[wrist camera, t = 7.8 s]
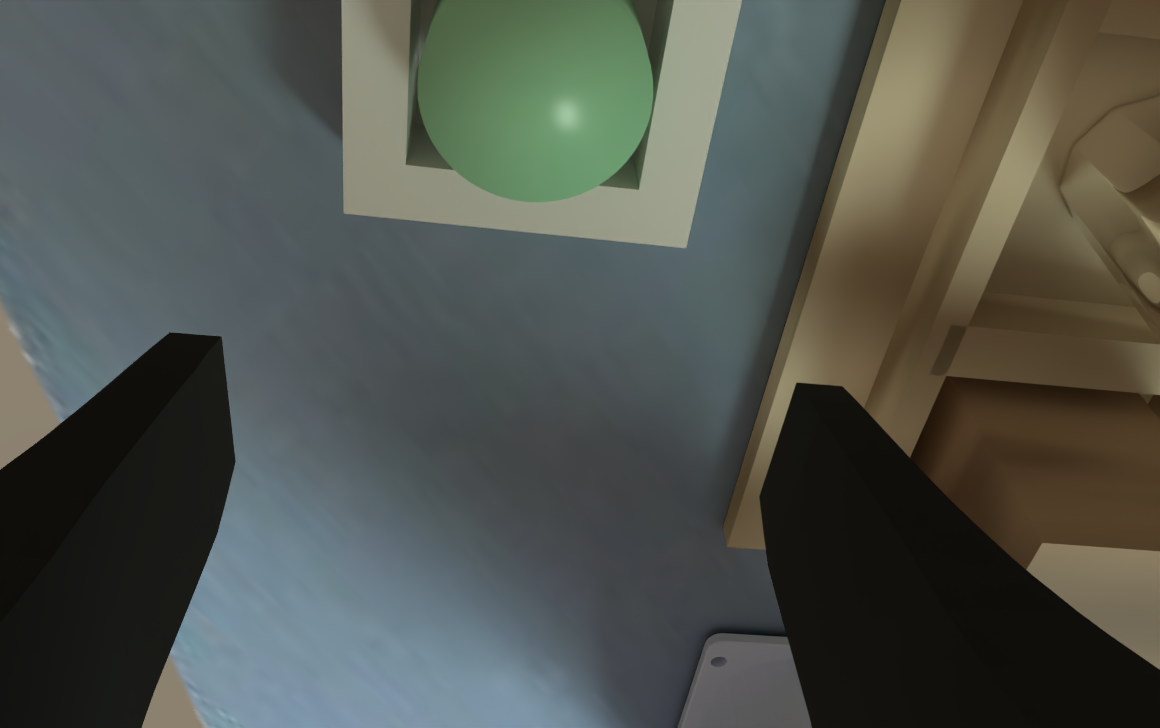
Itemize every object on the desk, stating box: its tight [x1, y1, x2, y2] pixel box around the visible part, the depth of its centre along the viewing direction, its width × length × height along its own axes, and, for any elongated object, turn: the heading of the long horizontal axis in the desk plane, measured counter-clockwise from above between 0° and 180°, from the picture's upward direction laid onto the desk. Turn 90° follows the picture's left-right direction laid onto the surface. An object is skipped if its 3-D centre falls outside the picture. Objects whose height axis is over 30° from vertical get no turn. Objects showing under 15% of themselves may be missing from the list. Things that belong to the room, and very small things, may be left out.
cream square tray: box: [341, 0, 742, 248], centre depth 19 cm, size 7×7×2 cm
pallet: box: [723, 0, 1160, 550], centre depth 24 cm, size 17×13×2 cm
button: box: [417, 0, 653, 202], centre depth 18 cm, size 4×4×2 cm
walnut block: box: [910, 376, 1160, 669], centre depth 24 cm, size 5×5×6 cm
